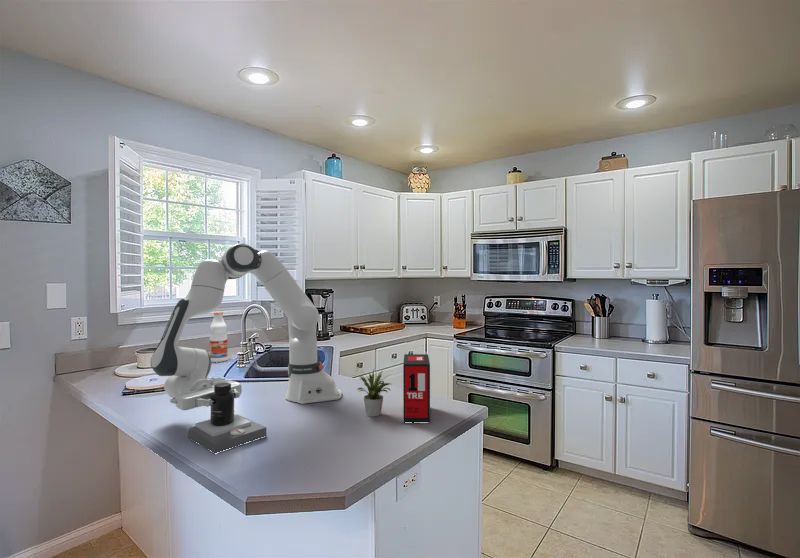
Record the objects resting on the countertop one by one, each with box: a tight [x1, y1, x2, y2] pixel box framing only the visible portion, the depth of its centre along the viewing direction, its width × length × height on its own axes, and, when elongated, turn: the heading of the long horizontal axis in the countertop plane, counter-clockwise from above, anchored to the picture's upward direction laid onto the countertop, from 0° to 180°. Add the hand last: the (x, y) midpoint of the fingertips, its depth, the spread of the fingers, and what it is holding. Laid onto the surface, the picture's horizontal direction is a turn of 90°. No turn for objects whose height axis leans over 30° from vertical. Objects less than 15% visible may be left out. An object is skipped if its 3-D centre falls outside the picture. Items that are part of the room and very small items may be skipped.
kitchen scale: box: [187, 413, 267, 454], centre depth 126 cm, size 16×18×4 cm
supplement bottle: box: [209, 383, 235, 426], centre depth 128 cm, size 7×7×12 cm
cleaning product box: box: [402, 353, 431, 424], centre depth 146 cm, size 16×9×20 cm, turn 178°
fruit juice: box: [209, 311, 229, 363], centre depth 236 cm, size 9×9×28 cm
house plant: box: [351, 369, 392, 417], centre depth 145 cm, size 14×14×16 cm
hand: (224, 399), depth 127 cm, fingers open, 8 cm apart
